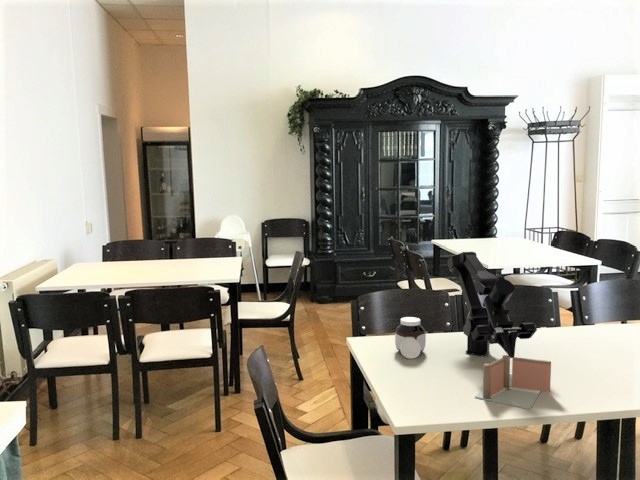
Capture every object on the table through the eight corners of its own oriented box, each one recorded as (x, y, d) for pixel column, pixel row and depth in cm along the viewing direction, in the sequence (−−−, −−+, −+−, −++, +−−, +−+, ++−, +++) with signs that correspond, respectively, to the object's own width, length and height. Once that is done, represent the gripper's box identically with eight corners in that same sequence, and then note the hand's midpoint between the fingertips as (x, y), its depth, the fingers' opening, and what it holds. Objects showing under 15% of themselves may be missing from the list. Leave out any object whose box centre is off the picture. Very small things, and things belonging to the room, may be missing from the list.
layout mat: (475, 397, 146) (475, 396, 146) (497, 372, 165) (497, 371, 165) (530, 409, 138) (530, 408, 138) (546, 381, 157) (547, 380, 157)
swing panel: (501, 387, 152) (502, 357, 151) (502, 384, 153) (502, 354, 152) (550, 393, 147) (551, 362, 146) (550, 390, 149) (551, 360, 148)
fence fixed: (482, 398, 145) (482, 365, 144) (494, 383, 156) (495, 352, 155) (502, 403, 142) (503, 369, 141) (514, 387, 153) (515, 355, 152)
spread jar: (415, 346, 191) (415, 315, 190) (435, 356, 181) (435, 322, 180) (387, 352, 186) (387, 319, 185) (405, 361, 176) (406, 327, 175)
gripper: (516, 323, 175) (532, 367, 165) (461, 325, 173) (474, 370, 163) (528, 305, 166) (546, 351, 157) (471, 308, 164) (485, 354, 155)
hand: (512, 357), depth 158 cm, fingers closed
